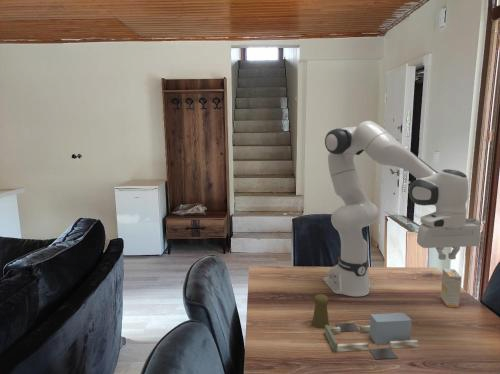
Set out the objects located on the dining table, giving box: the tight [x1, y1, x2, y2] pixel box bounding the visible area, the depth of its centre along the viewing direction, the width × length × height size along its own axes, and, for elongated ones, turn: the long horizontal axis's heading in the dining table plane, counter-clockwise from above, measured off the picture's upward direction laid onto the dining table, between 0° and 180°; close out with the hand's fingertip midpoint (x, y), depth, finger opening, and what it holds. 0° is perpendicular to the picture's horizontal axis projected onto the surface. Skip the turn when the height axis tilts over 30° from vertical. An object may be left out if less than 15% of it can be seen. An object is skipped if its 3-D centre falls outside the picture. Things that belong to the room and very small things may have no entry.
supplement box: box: [440, 268, 462, 308], centre depth 147 cm, size 8×5×13 cm, turn 168°
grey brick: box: [369, 312, 413, 345], centre depth 122 cm, size 12×5×8 cm, turn 95°
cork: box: [311, 293, 330, 329], centre depth 132 cm, size 6×6×11 cm
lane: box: [324, 322, 419, 360], centre depth 122 cm, size 28×21×3 cm
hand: (446, 259), depth 122 cm, fingers open, 2 cm apart
